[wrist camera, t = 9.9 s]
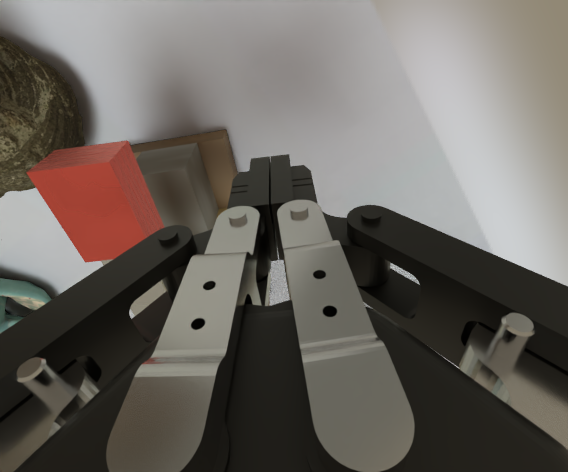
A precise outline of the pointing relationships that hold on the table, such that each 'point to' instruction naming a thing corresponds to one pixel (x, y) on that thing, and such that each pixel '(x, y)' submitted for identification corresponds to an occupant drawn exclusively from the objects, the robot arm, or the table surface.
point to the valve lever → (100, 202)
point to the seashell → (32, 115)
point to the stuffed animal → (19, 299)
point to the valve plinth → (211, 156)
